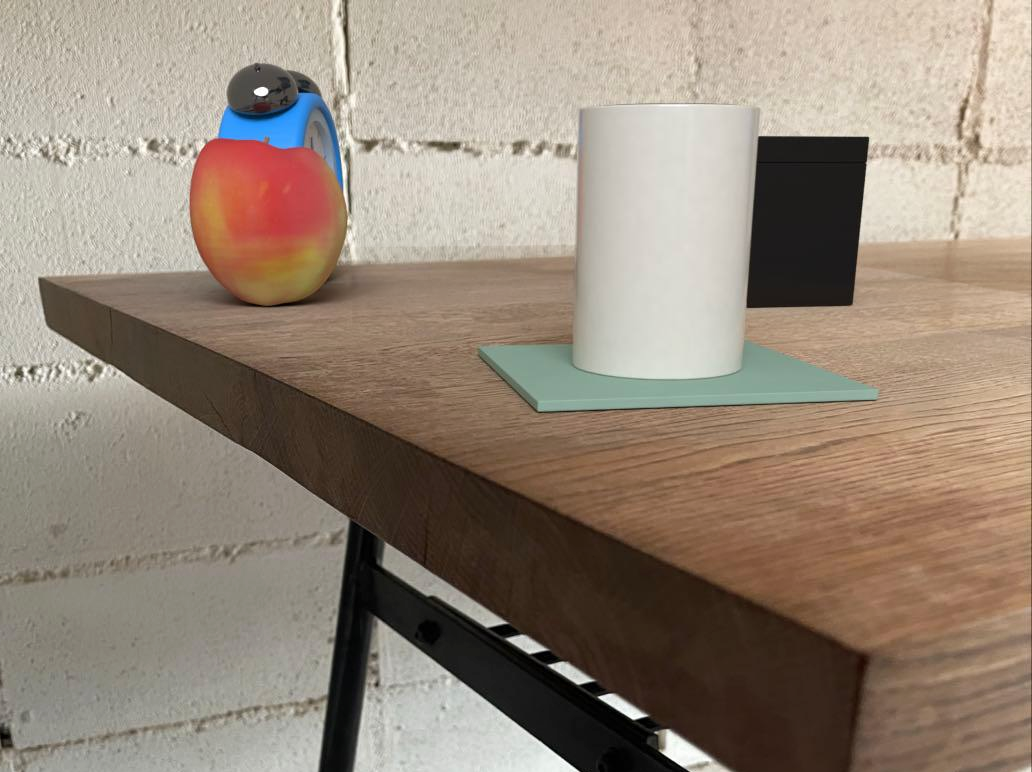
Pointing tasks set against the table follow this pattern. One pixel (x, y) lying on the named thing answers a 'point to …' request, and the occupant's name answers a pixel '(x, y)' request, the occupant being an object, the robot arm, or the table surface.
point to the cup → (663, 238)
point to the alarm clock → (280, 112)
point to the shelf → (806, 220)
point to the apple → (266, 219)
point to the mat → (665, 382)
